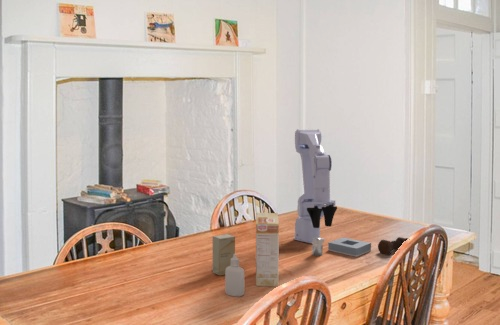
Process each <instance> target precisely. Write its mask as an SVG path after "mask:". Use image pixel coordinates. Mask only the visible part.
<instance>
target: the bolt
mask: <svg viewBox="0 0 500 325" xmlns="http://www.w3.org/2000/svg"><path fill="white" fill-rule="evenodd" d="M407 239H409V238H407V237H401V236H399V237H396V239H395V240H387V239H381V240H379V242H378V244H377V249H378V252H379V253H380V254H382V255H386V256H388V255H390V254H391V253H392V251H394V250H395V251H396V250H399V249H398V248H399V247H400V246H401V245H402V243H403V242H404V241H406V240H407Z"/></svg>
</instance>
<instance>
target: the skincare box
mask: <svg viewBox="0 0 500 325" xmlns="http://www.w3.org/2000/svg"><path fill="white" fill-rule="evenodd" d="M234 254H236V236H235V235H232V234H231V233H225V234H219V235H212V273H213V274H215V275H217V276H225V270H226V268H227V267H228V266H231V258H233V255H234Z"/></svg>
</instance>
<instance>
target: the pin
mask: <svg viewBox="0 0 500 325" xmlns="http://www.w3.org/2000/svg"><path fill="white" fill-rule="evenodd" d="M323 243H324V240H323V237H321V236H320V237H314V238H313V244H312V248H311V249H312V252H311V253H312V256H314V257H322V256H323V250H324V249H323V246H324V244H323Z"/></svg>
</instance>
